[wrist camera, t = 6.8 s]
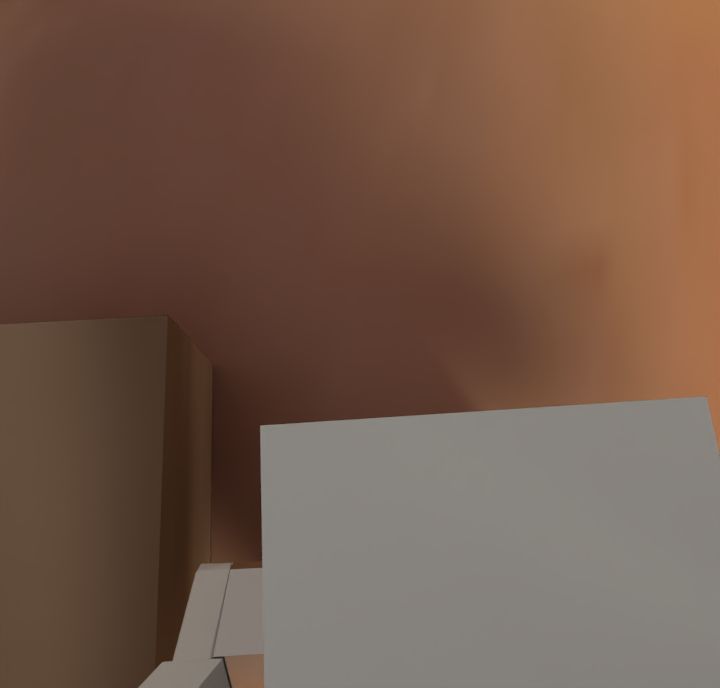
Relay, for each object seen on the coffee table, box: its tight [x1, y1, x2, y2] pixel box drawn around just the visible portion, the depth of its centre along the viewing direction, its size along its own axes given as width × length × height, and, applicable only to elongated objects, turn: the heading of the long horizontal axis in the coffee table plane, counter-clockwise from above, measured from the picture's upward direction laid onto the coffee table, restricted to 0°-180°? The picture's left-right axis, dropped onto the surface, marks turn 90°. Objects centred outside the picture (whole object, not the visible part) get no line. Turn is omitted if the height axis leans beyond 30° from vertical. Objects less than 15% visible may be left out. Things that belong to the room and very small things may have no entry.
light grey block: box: [260, 396, 720, 688], centre depth 10 cm, size 5×5×8 cm
